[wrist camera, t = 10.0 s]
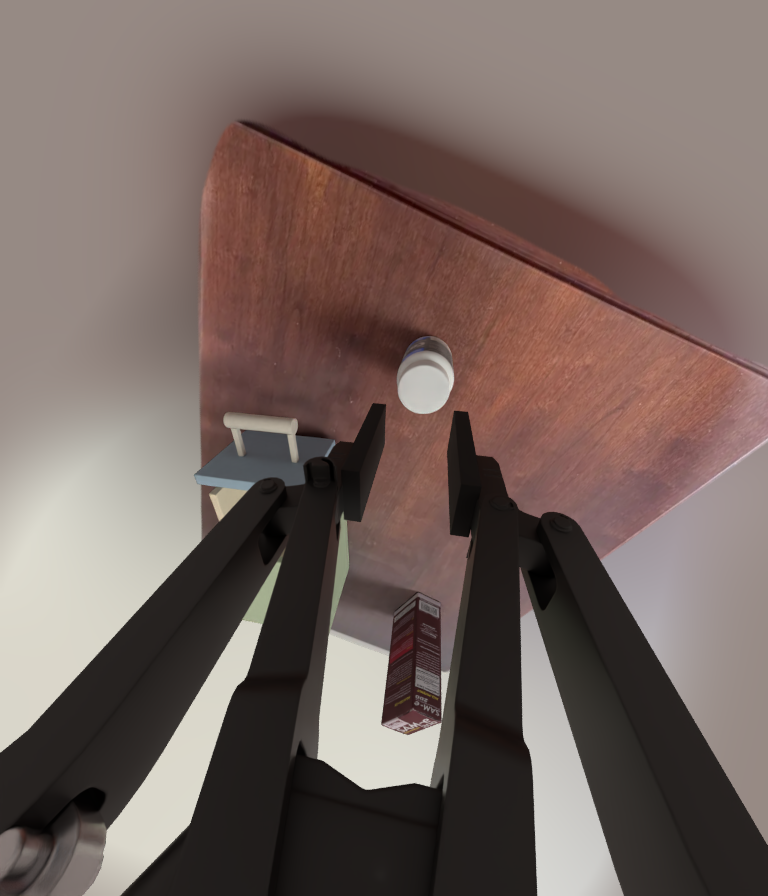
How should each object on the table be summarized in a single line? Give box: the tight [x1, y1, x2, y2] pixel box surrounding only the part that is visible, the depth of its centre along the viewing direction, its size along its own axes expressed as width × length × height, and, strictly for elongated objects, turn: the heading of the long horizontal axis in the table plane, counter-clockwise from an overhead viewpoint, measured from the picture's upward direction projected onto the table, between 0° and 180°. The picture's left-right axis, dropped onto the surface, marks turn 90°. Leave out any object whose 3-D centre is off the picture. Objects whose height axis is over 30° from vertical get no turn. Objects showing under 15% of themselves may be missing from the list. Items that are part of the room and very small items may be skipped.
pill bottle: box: [397, 336, 454, 414], centre depth 26 cm, size 5×5×8 cm
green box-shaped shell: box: [242, 512, 349, 636], centre depth 41 cm, size 15×13×11 cm
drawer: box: [194, 412, 335, 557], centre depth 34 cm, size 18×11×9 cm, turn 178°
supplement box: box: [381, 593, 442, 735], centre depth 46 cm, size 9×5×16 cm, turn 152°
